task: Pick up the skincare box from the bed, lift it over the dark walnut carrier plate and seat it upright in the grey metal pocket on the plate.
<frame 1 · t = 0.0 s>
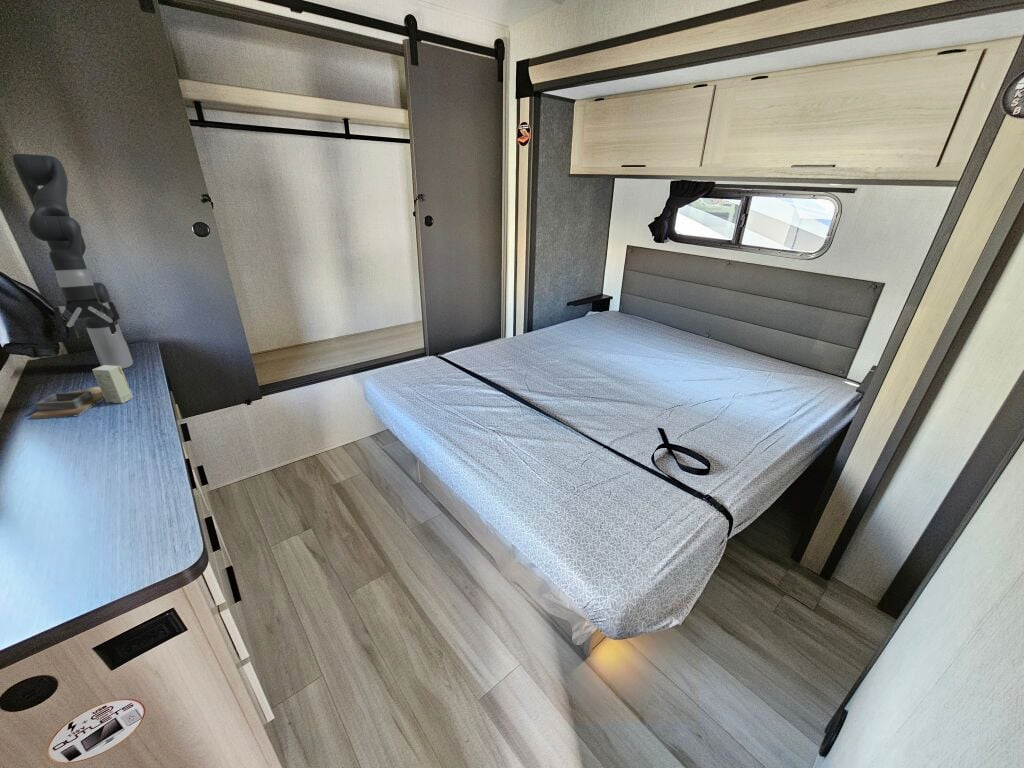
hand: (95, 336, 134), 22 cm above the dresser, tool pointing down, fingers open, 8 cm apart
carrier plate: (76, 404, 138), on the dresser
skincare box: (119, 400, 142), on the dresser
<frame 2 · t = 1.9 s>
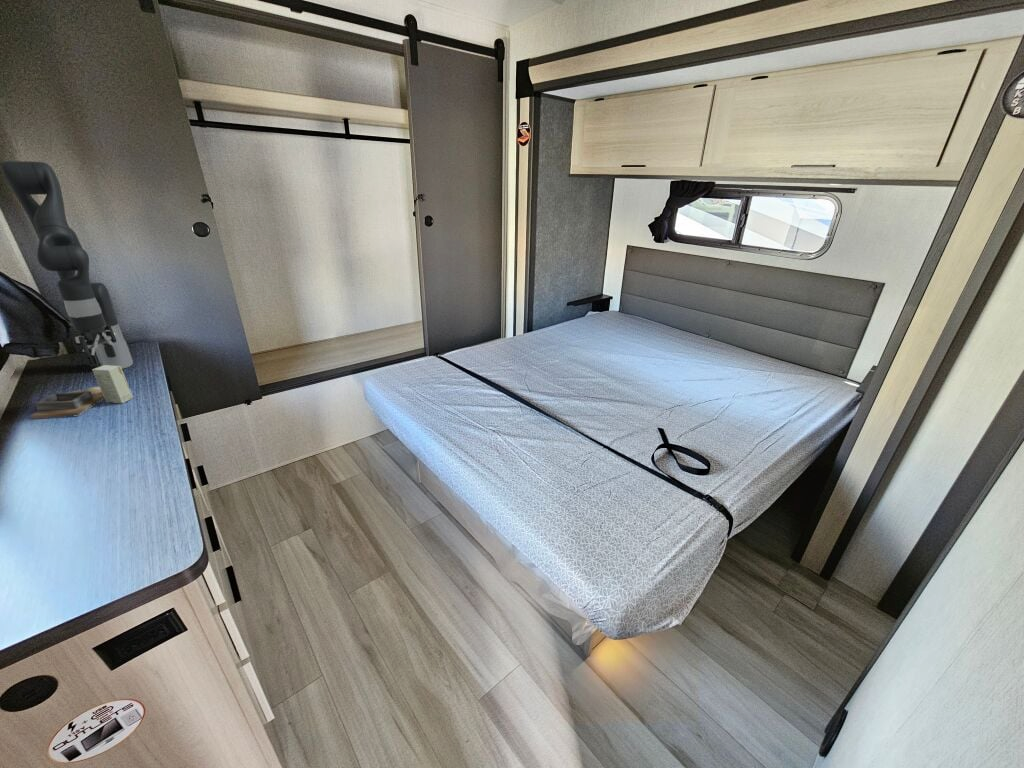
hand: (103, 361, 136), 14 cm above the dresser, tool pointing down, fingers open, 8 cm apart
nothing on the dresser moved.
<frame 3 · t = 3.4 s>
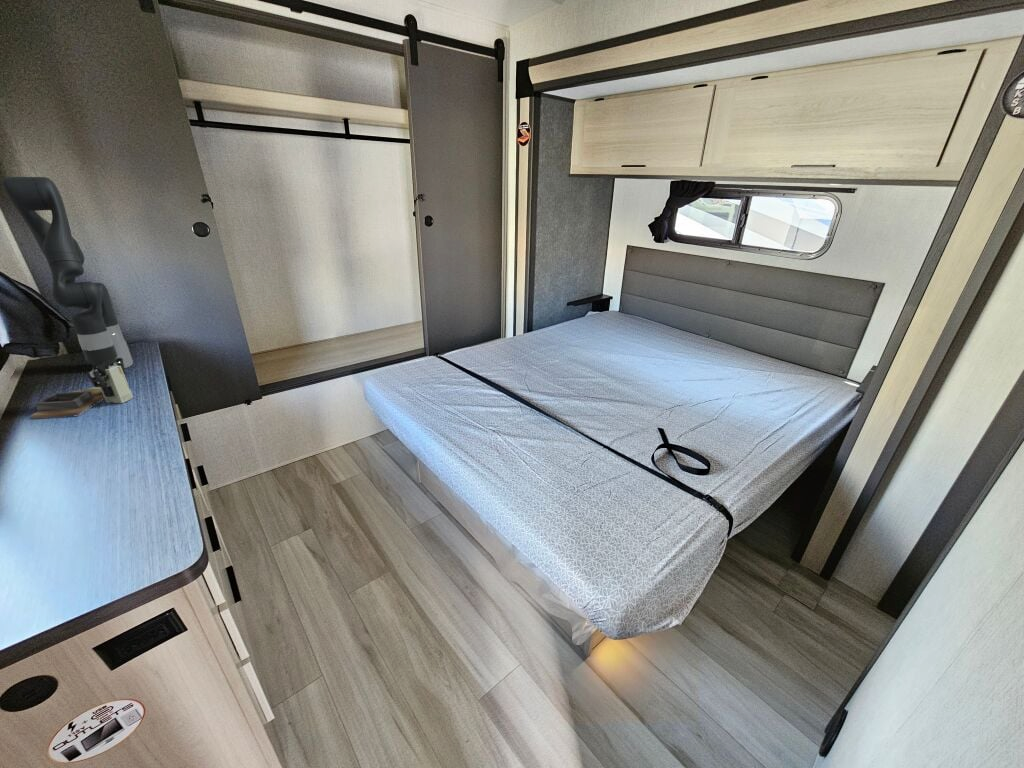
hand: (115, 392, 140), 3 cm above the dresser, tool pointing down, fingers closed on skincare box, 5 cm apart
skincare box: (119, 400, 142), on the dresser, touching gripper
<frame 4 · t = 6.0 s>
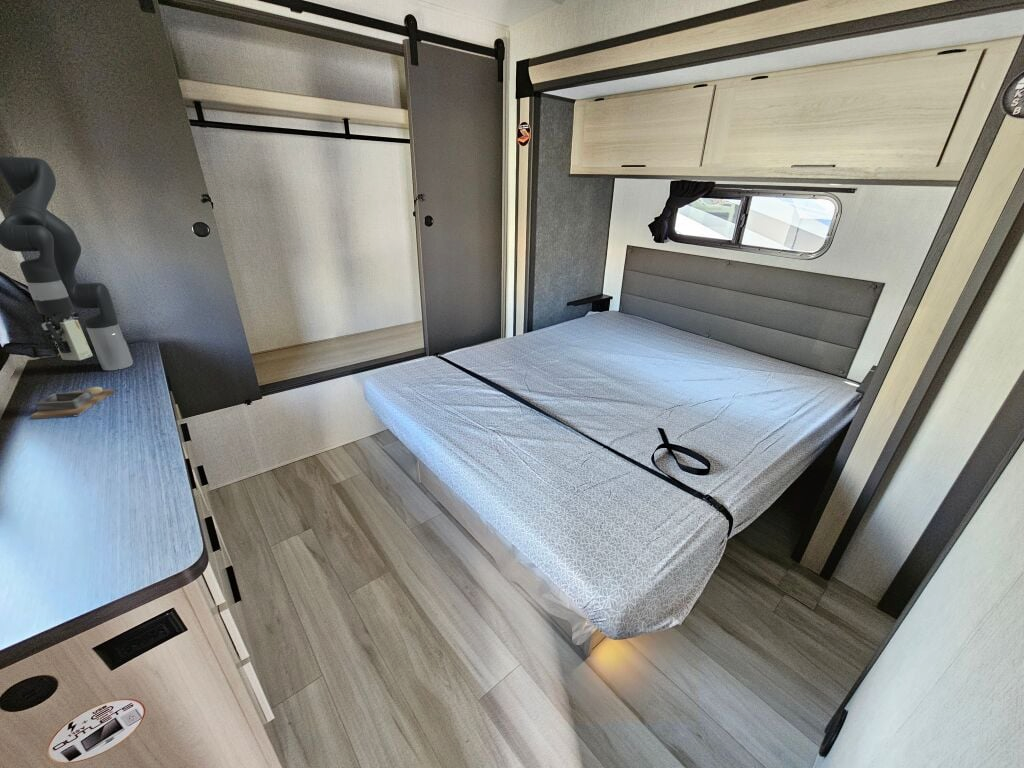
hand: (72, 349, 131), 19 cm above the dresser, tool pointing down, fingers closed on skincare box, 5 cm apart
skincare box: (77, 358, 132), point 16 cm above the dresser, touching gripper
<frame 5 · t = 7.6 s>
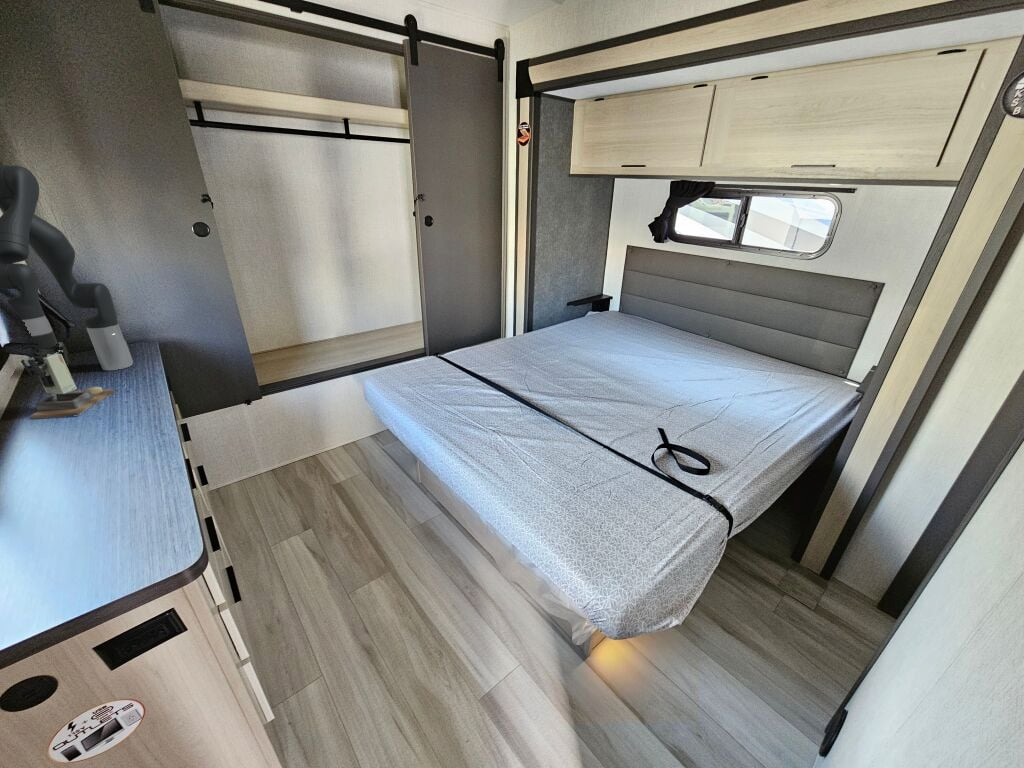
hand: (56, 382, 132), 9 cm above the dresser, tool pointing down, fingers closed on skincare box, 5 cm apart
skincare box: (61, 391, 133), point 6 cm above the dresser, touching gripper
when the fingers open (5 cm above the dresser, at t = 8.7 s): skincare box drops 1 cm, resting on carrier plate.
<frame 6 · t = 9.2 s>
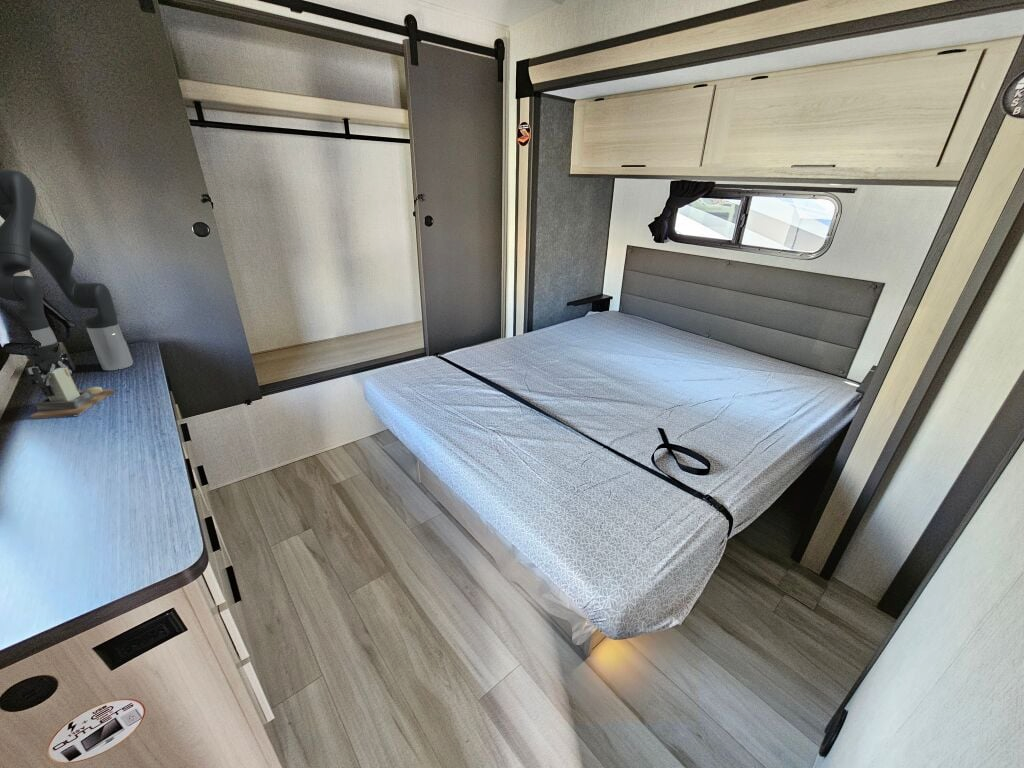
hand: (60, 390, 133), 6 cm above the dresser, tool pointing down, fingers open, 8 cm apart
skincare box: (68, 404, 135), point 1 cm above the dresser, touching carrier plate
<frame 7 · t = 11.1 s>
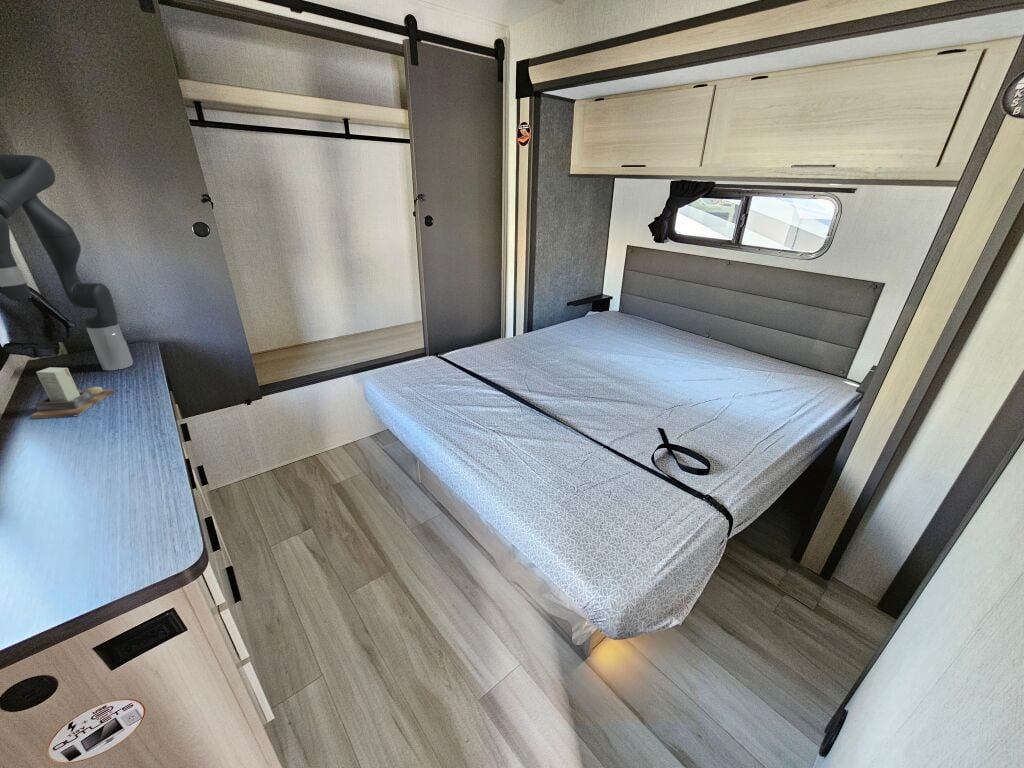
hand: (31, 335, 127), 24 cm above the dresser, tool pointing down, fingers open, 8 cm apart
nothing on the dresser moved.
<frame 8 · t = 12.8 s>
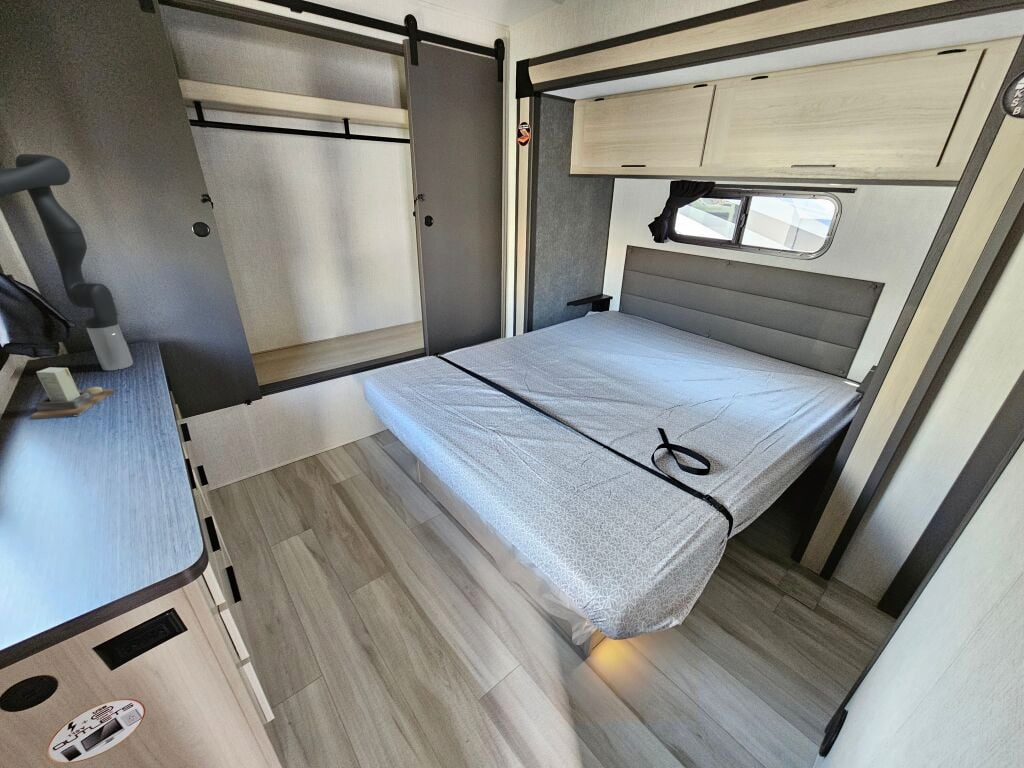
hand: (3, 312, 127), 30 cm above the dresser, tool pointing down, fingers open, 8 cm apart
nothing on the dresser moved.
at the end: skincare box 0.3 cm from the target spot on the carrier plate, point 1.0 cm above the carrier plate's base; skincare box tilted 0°; the gripper is holding nothing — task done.
